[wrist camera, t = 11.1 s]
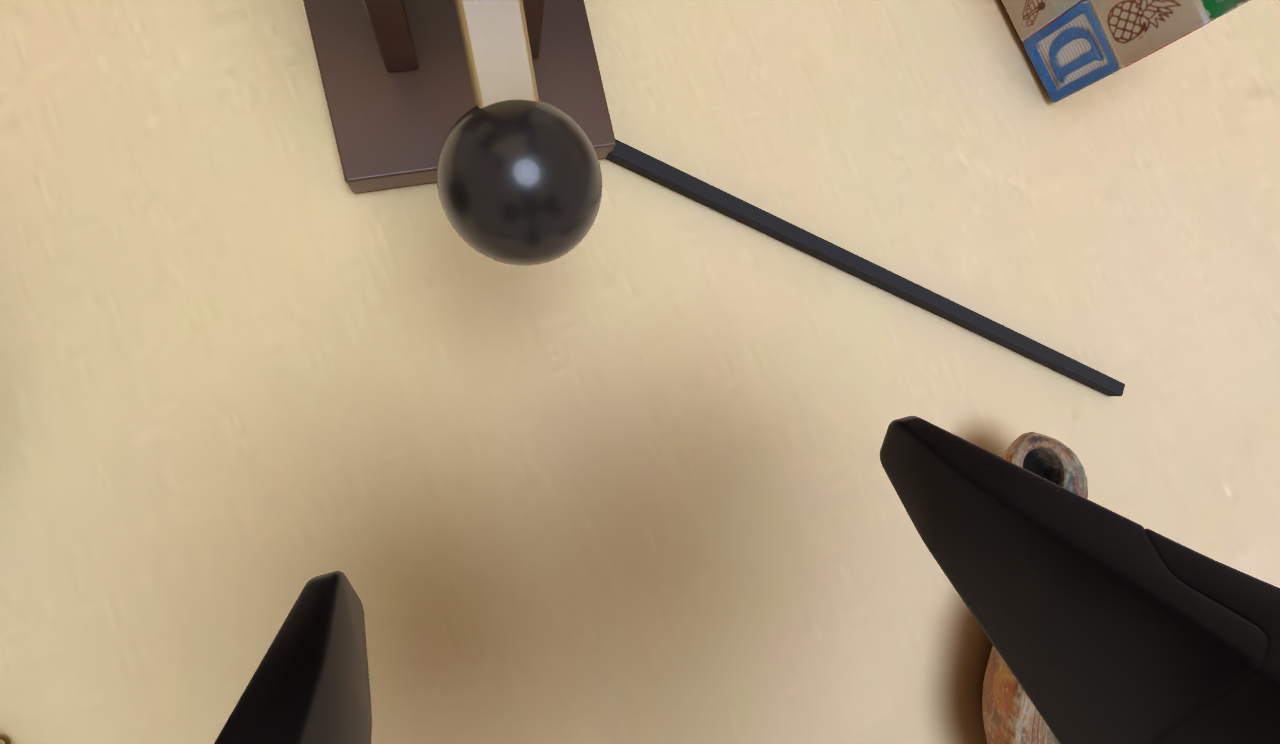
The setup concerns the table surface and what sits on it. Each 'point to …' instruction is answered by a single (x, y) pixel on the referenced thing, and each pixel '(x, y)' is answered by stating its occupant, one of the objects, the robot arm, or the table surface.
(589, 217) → the switch lever
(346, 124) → the switch stand
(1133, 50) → the stack of blocks
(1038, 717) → the oil lamp
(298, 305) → the table surface
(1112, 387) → the straight black rod
